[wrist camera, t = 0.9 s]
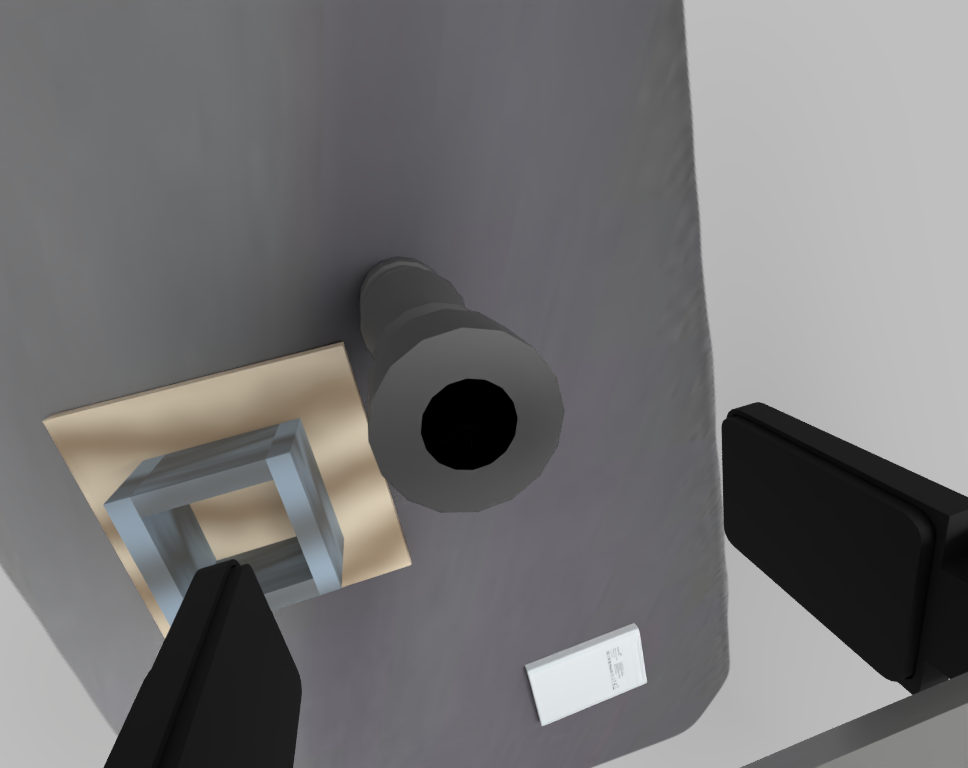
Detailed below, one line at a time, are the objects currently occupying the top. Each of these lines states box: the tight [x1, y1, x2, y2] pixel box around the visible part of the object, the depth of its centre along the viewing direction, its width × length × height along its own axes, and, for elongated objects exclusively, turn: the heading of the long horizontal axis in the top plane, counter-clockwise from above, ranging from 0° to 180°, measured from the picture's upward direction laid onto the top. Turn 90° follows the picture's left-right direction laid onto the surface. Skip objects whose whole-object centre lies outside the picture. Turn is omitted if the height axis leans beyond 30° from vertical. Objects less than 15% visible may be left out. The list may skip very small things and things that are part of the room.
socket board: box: [43, 342, 412, 638], centre depth 36 cm, size 20×20×7 cm
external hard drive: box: [525, 623, 647, 726], centre depth 53 cm, size 2×8×12 cm
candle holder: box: [360, 257, 564, 513], centre depth 26 cm, size 6×6×25 cm
